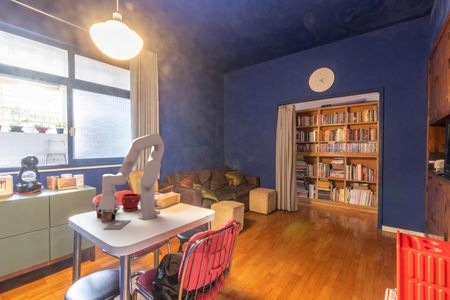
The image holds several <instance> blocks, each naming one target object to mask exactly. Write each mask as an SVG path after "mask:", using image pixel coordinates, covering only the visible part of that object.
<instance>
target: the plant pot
mask: <svg viewBox="0 0 450 300" xmlns="http://www.w3.org/2000/svg"><path fill="white" fill-rule="evenodd" d="M121 204H122V208H121V209H122V210H123V211H124V212H132V211H133V212H134V211H137V210H138V209H139V204H140V194H139V193H125V194H122V195H121Z"/></svg>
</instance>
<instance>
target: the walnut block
mask: <svg viewBox="0 0 450 300" xmlns="http://www.w3.org/2000/svg"><path fill="white" fill-rule="evenodd" d="M112 214H113V213H112V211H105V212H103V213H102V218H101V223H112V222H114V221H115V220H116V218H115V219H114V220H112Z"/></svg>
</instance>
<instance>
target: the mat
mask: <svg viewBox="0 0 450 300" xmlns="http://www.w3.org/2000/svg"><path fill="white" fill-rule="evenodd" d="M131 221H132V219H131V220H130V219H125V220H124V219H115V220H114V221H112V222H110V223H109V224H107V226H104V227H103V230H122V229H123V228H124V227H126V225H128V224H129V223H130V222H131Z"/></svg>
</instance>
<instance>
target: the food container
mask: <svg viewBox="0 0 450 300" xmlns="http://www.w3.org/2000/svg"><path fill="white" fill-rule="evenodd" d="M99 205H100V201H98V202H96V203H95V205H94V207H95V211H96V218H97V219H100V218H101V214H100V212H99V211H98V210H97V209H96V208H97V207H98V206H99ZM105 211H111V210H105ZM101 219H102V218H101Z"/></svg>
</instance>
